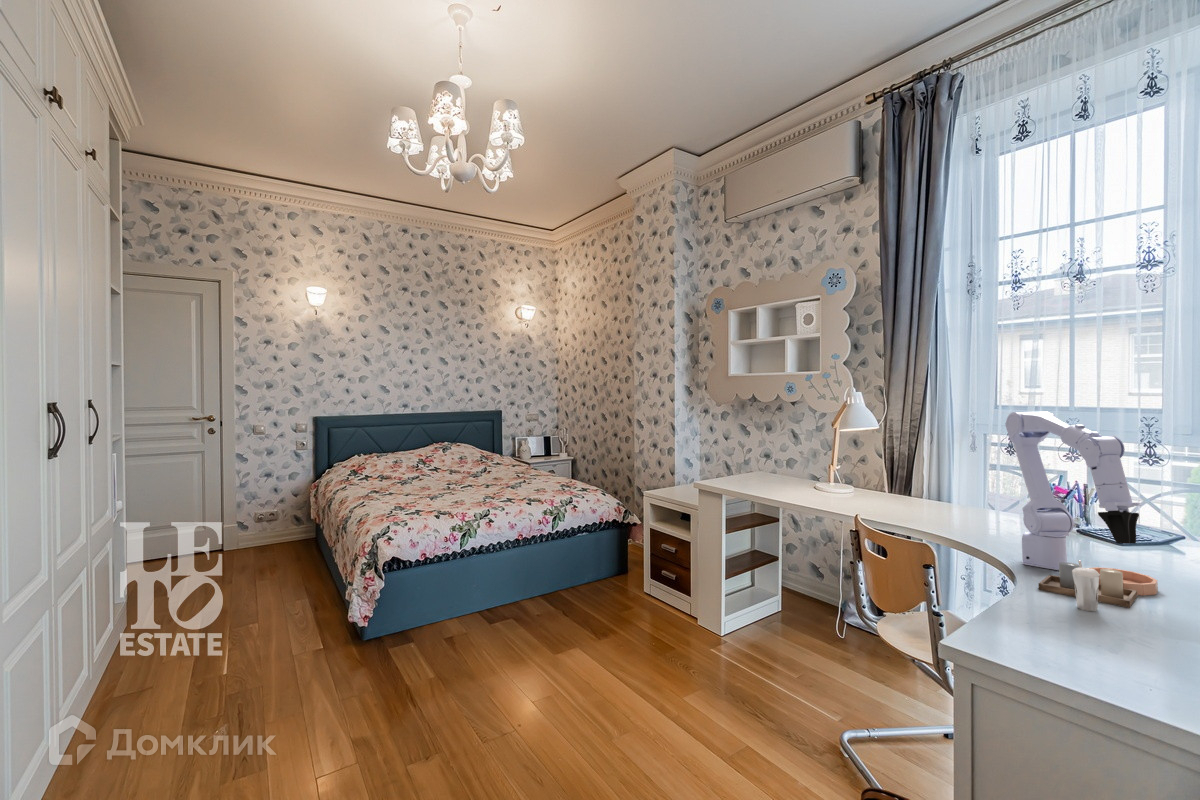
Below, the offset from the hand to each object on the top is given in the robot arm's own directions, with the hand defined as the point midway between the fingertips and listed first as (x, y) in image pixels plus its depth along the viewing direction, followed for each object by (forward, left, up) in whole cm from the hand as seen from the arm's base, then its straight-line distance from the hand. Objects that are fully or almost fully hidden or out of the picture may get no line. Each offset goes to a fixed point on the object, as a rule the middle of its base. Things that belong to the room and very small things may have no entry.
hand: (1126, 543), depth 122 cm
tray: (-7, -3, -13) cm, 15 cm away
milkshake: (-5, -15, -13) cm, 20 cm away
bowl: (-3, +9, -13) cm, 16 cm away
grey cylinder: (-10, -3, -12) cm, 16 cm away
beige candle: (-2, -3, -12) cm, 13 cm away
